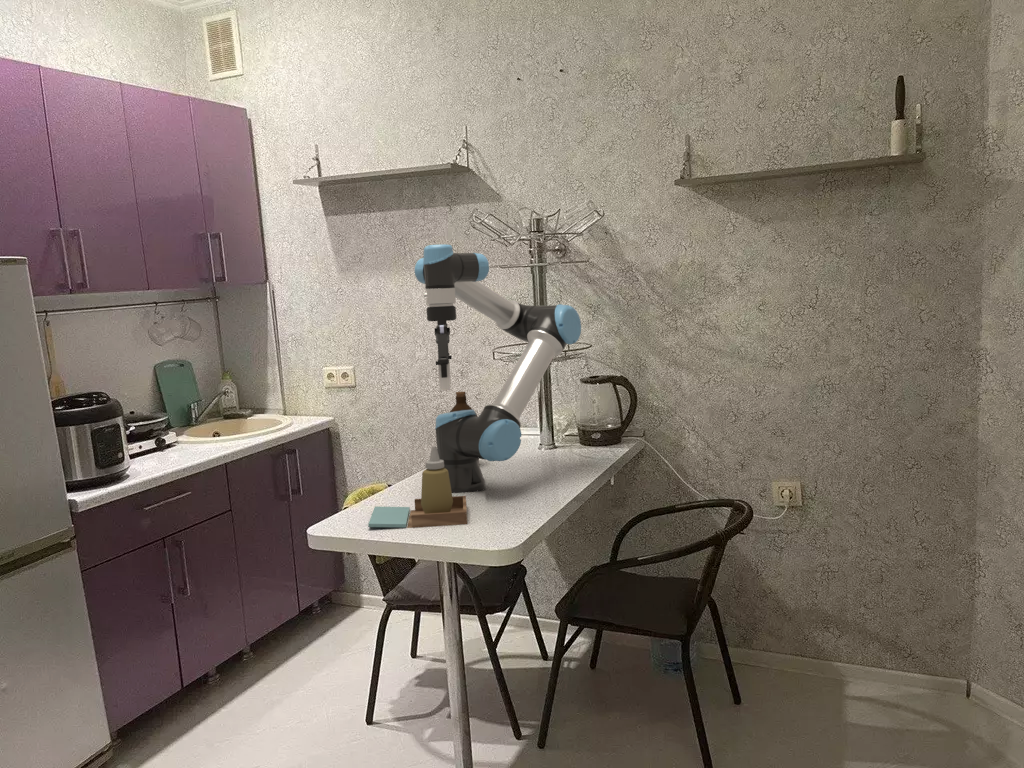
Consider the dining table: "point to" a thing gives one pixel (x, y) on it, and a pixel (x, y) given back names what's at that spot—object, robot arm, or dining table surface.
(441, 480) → the squeeze bottle
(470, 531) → the dining table surface
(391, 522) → the panel
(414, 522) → the crate
